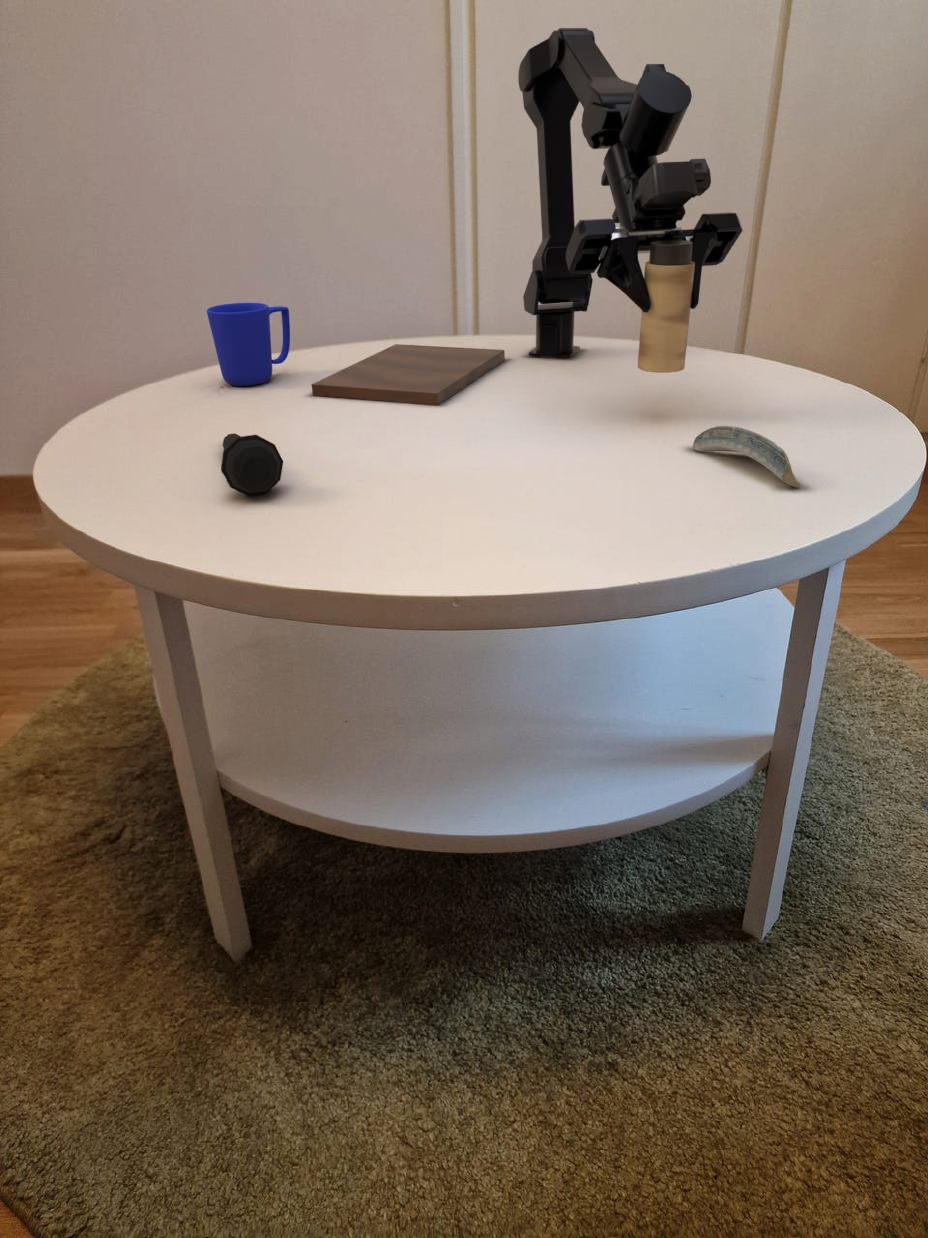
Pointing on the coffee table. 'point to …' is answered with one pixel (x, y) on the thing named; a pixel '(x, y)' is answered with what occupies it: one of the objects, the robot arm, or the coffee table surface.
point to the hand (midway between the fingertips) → (671, 308)
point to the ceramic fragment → (747, 449)
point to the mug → (246, 341)
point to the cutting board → (410, 374)
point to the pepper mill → (666, 306)
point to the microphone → (251, 464)
